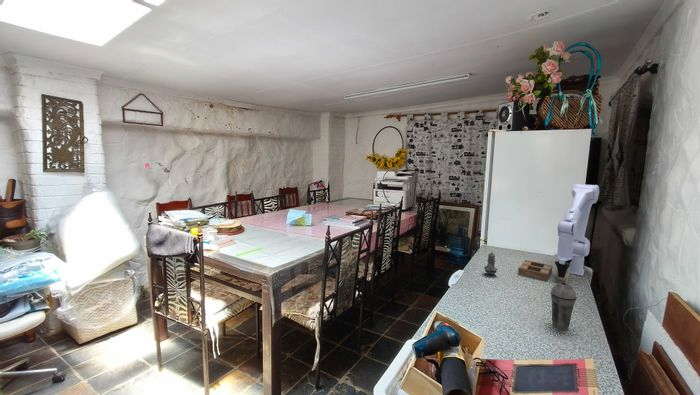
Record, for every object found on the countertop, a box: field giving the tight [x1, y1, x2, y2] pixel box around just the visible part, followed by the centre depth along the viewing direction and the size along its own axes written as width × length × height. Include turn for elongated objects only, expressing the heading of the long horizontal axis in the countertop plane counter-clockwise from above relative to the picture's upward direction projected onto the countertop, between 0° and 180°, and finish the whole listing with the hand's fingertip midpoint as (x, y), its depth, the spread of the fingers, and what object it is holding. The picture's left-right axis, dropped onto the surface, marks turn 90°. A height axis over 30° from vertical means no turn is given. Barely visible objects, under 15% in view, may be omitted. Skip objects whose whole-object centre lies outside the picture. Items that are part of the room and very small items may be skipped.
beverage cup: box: [550, 271, 577, 332], centre depth 102 cm, size 7×7×20 cm
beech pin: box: [556, 262, 569, 282], centre depth 142 cm, size 4×4×8 cm
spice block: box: [517, 259, 554, 282], centre depth 150 cm, size 15×12×4 cm
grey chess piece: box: [483, 251, 498, 278], centre depth 147 cm, size 6×6×12 cm
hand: (562, 274), depth 142 cm, fingers open, 7 cm apart
